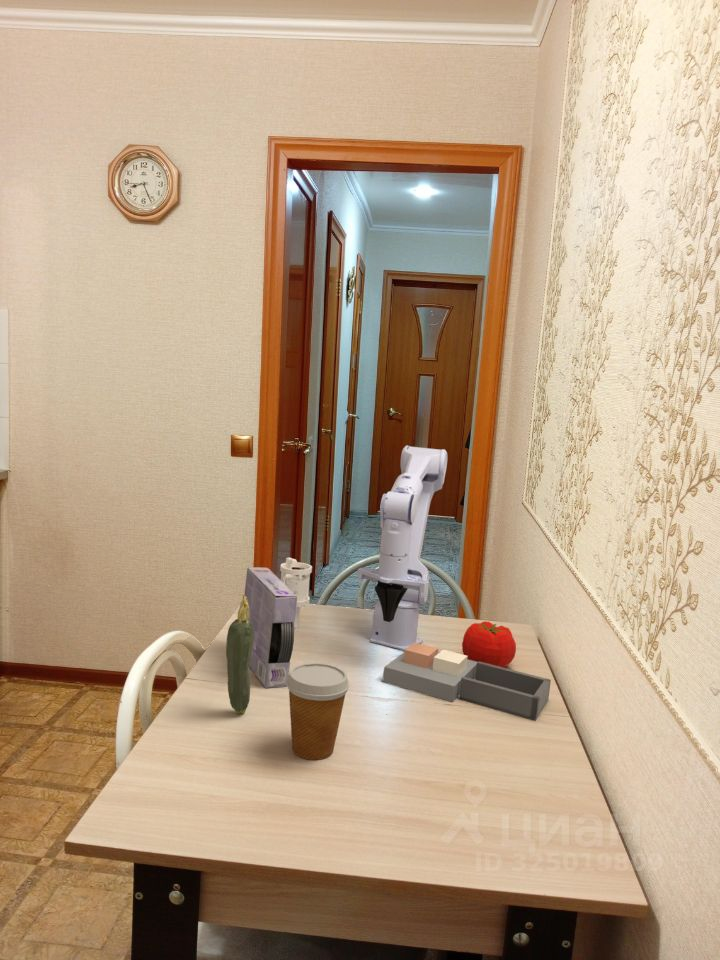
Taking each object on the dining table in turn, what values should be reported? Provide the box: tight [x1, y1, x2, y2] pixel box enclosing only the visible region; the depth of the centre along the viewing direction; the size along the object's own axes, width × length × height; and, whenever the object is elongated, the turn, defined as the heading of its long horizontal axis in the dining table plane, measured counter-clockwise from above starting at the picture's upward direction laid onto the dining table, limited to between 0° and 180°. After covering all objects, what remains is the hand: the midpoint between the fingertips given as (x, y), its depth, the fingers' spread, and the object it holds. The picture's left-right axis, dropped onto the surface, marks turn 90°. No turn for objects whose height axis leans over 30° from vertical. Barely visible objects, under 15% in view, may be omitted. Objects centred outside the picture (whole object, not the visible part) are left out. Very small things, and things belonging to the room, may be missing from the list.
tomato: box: [461, 621, 517, 668], centre depth 147 cm, size 11×11×9 cm
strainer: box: [279, 557, 313, 629], centre depth 160 cm, size 7×7×15 cm
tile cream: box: [433, 649, 468, 677], centre depth 136 cm, size 5×5×2 cm
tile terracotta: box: [403, 642, 439, 669], centre depth 138 cm, size 5×5×2 cm
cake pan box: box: [243, 566, 297, 689], centre depth 135 cm, size 19×5×18 cm, turn 25°
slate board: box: [382, 651, 477, 703], centre depth 138 cm, size 14×14×3 cm
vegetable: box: [225, 594, 254, 714], centre depth 116 cm, size 4×4×20 cm
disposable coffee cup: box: [286, 662, 351, 761], centre depth 107 cm, size 10×10×12 cm
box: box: [458, 661, 552, 722], centre depth 131 cm, size 14×10×4 cm
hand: (388, 620), depth 141 cm, fingers closed
